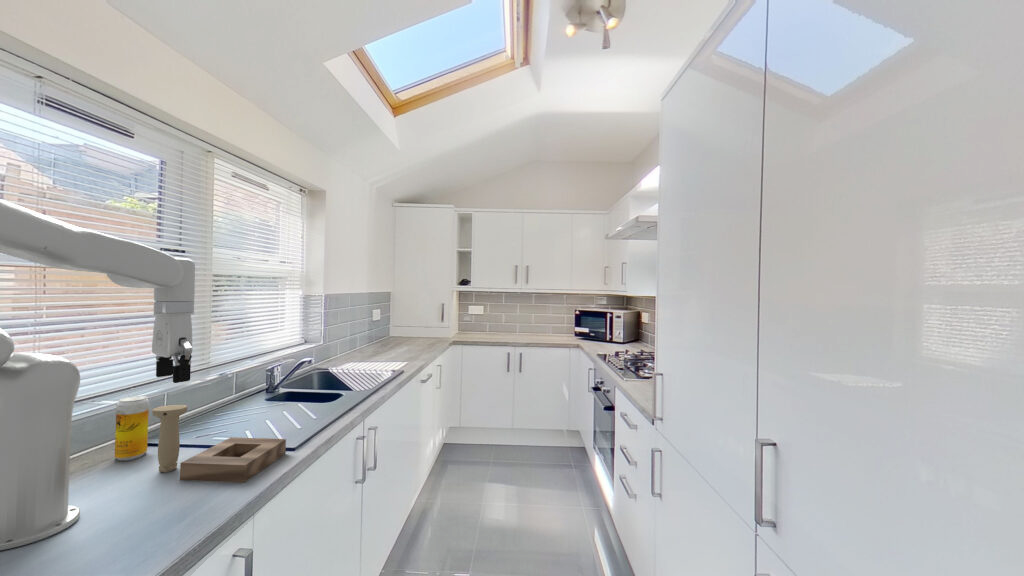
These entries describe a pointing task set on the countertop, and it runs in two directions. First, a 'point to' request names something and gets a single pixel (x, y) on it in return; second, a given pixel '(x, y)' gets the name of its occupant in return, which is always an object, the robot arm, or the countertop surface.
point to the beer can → (131, 427)
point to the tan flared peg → (169, 435)
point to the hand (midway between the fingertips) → (172, 378)
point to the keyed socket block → (233, 460)
